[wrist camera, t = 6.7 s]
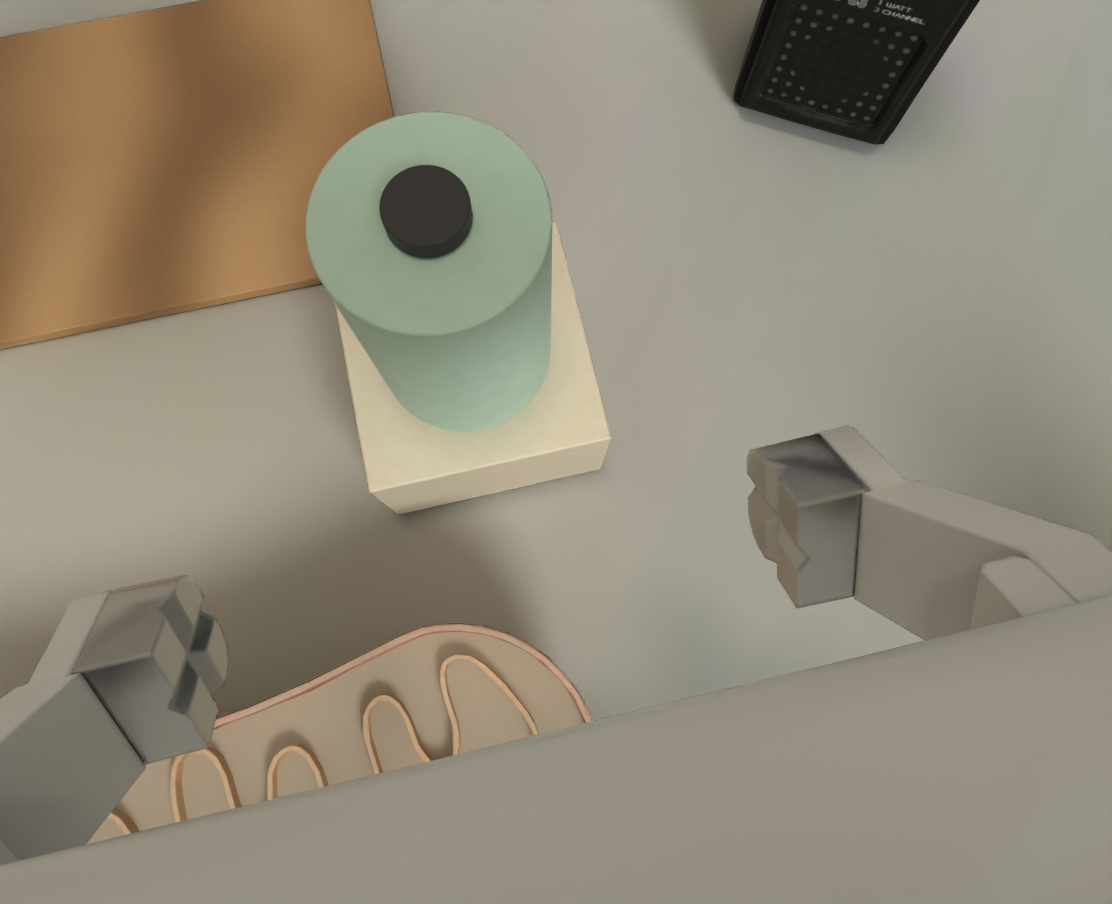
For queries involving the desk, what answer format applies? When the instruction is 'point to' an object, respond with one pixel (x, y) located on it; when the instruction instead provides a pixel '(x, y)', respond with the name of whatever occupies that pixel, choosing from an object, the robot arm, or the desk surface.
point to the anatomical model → (361, 724)
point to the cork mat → (172, 156)
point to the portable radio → (846, 60)
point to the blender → (453, 313)
